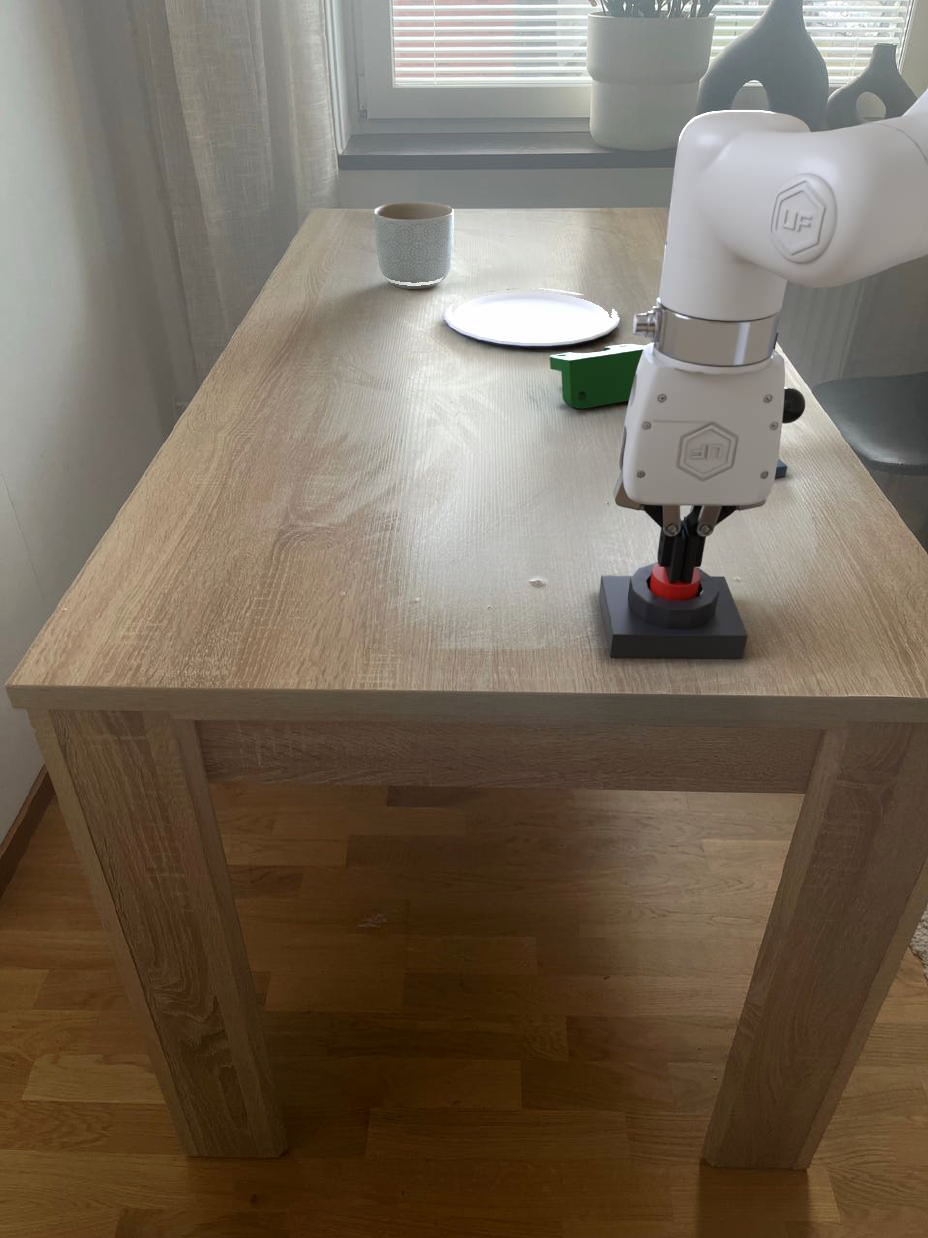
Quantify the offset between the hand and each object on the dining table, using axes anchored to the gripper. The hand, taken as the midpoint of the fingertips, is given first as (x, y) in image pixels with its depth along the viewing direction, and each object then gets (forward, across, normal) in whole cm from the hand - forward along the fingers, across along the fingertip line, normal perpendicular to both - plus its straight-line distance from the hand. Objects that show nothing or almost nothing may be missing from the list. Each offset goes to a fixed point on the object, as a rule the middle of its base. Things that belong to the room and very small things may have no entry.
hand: (677, 572), depth 70 cm
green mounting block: (+5, -1, +46) cm, 47 cm away
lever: (-4, +12, +26) cm, 28 cm away
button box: (+5, 0, 0) cm, 5 cm away
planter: (+5, -25, +92) cm, 95 cm away
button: (+2, 0, 0) cm, 2 cm away
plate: (+5, -8, +73) cm, 74 cm away
